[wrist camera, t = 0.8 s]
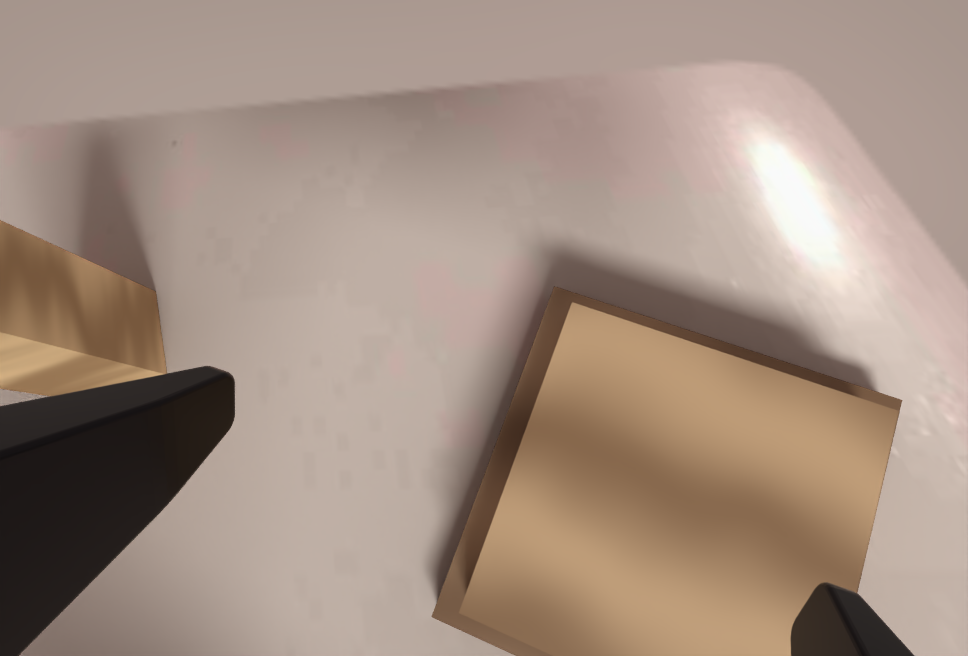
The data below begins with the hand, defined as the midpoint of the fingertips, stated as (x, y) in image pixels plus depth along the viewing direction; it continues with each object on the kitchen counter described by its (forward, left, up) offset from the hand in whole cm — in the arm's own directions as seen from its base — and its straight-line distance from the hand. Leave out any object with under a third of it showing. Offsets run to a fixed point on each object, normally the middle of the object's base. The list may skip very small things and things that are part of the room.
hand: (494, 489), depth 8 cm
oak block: (-1, +19, -14) cm, 24 cm away
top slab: (+1, -5, -13) cm, 14 cm away
